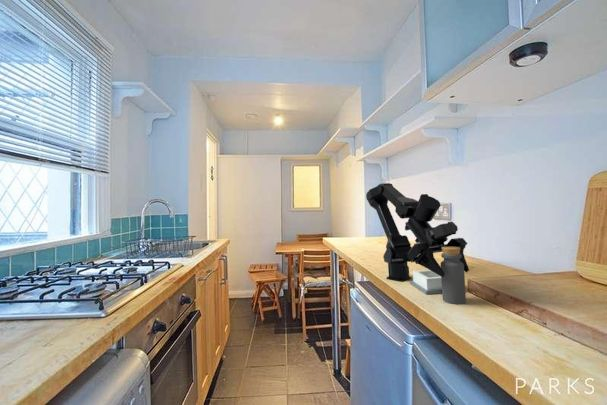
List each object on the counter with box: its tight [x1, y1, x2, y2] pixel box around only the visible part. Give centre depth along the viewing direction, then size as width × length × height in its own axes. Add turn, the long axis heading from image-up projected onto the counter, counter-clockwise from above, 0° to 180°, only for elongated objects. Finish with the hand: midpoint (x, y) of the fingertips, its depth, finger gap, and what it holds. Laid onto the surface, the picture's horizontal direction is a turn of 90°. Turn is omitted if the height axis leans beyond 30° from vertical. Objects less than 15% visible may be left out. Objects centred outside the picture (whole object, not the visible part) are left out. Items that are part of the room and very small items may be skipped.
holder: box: [409, 269, 442, 295], centre depth 93 cm, size 12×12×4 cm
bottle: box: [440, 246, 467, 305], centre depth 80 cm, size 6×6×15 cm
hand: (456, 273), depth 79 cm, fingers open, 9 cm apart
